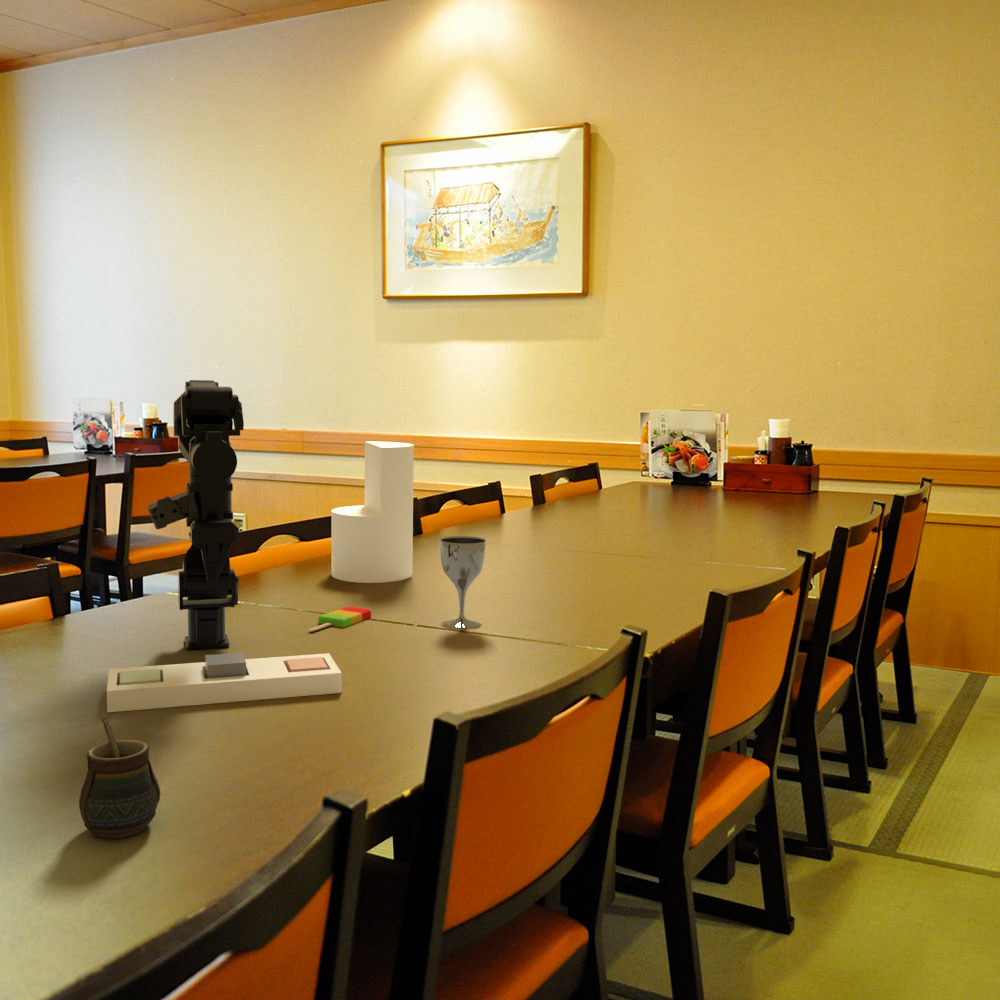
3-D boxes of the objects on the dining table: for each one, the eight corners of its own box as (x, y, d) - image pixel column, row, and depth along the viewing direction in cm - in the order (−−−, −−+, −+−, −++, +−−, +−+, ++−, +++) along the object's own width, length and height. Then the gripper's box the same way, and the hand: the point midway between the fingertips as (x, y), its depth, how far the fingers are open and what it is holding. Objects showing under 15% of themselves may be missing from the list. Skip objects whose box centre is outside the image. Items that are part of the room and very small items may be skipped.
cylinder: (402, 565, 231) (403, 441, 228) (420, 580, 215) (422, 447, 211) (325, 568, 226) (325, 441, 222) (338, 584, 209) (338, 447, 206)
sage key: (120, 689, 138) (120, 671, 138) (160, 686, 140) (159, 668, 139) (120, 701, 133) (119, 682, 133) (160, 697, 135) (160, 679, 135)
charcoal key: (205, 672, 141) (205, 655, 141) (242, 670, 143) (242, 652, 143) (207, 683, 137) (207, 665, 136) (246, 680, 138) (246, 662, 138)
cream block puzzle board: (109, 688, 140) (109, 668, 140) (329, 671, 150) (329, 653, 149) (107, 712, 131) (106, 691, 130) (341, 692, 140) (341, 672, 140)
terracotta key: (286, 676, 145) (286, 659, 145) (321, 674, 147) (321, 657, 147) (291, 687, 141) (291, 669, 140) (327, 684, 142) (327, 666, 142)
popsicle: (374, 619, 184) (374, 609, 183) (323, 637, 170) (323, 626, 170) (348, 615, 186) (348, 605, 186) (296, 633, 173) (296, 622, 172)
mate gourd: (103, 854, 93) (98, 748, 92) (64, 829, 98) (59, 728, 97) (174, 828, 99) (171, 728, 97) (134, 806, 104) (130, 710, 102)
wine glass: (462, 616, 185) (464, 534, 183) (493, 625, 179) (495, 540, 177) (429, 623, 179) (430, 538, 177) (459, 632, 174) (461, 545, 172)
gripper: (149, 469, 152) (152, 573, 154) (151, 483, 134) (153, 600, 136) (227, 468, 155) (228, 569, 157) (238, 482, 138) (240, 595, 140)
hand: (212, 583), depth 148 cm, fingers closed
